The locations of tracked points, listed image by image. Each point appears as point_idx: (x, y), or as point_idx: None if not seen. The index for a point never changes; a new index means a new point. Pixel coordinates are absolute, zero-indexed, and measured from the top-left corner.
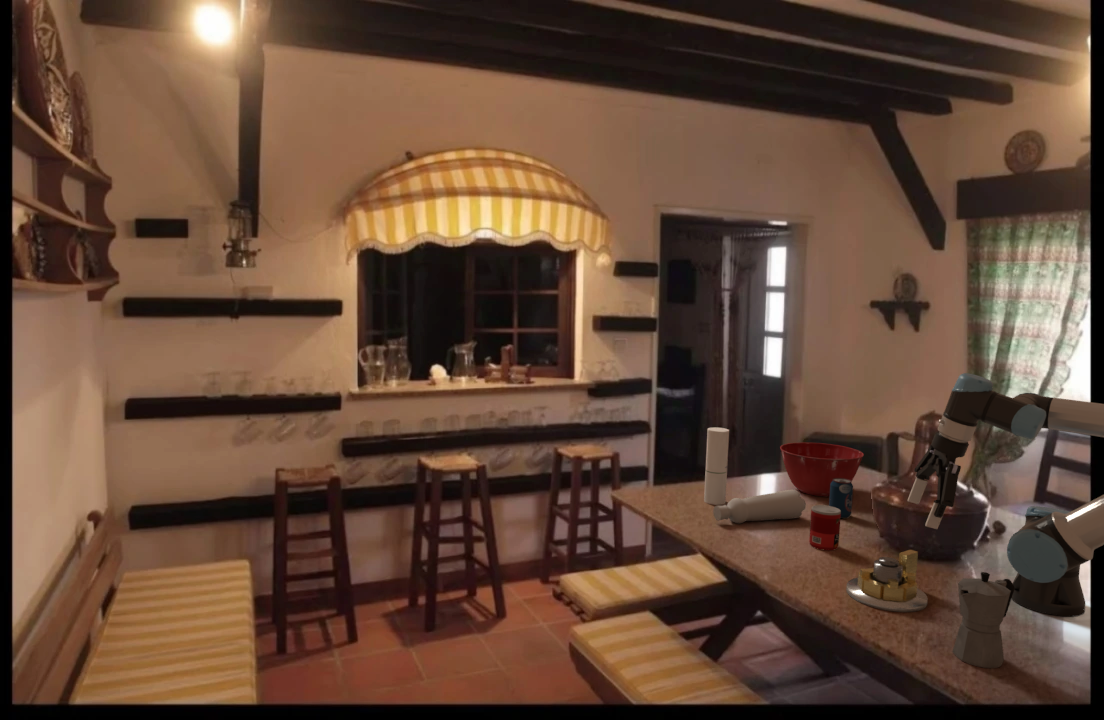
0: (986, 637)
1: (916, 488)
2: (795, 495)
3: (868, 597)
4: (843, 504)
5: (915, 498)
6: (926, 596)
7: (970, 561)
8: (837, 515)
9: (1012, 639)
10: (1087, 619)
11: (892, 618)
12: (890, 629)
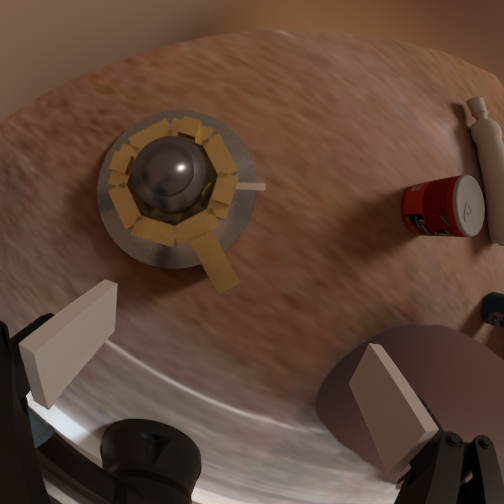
0: None
1: (392, 403)
2: None
3: None
4: (497, 309)
5: (366, 379)
6: (141, 261)
7: (324, 435)
8: (453, 216)
9: (17, 313)
10: None
11: (84, 148)
12: (55, 127)
